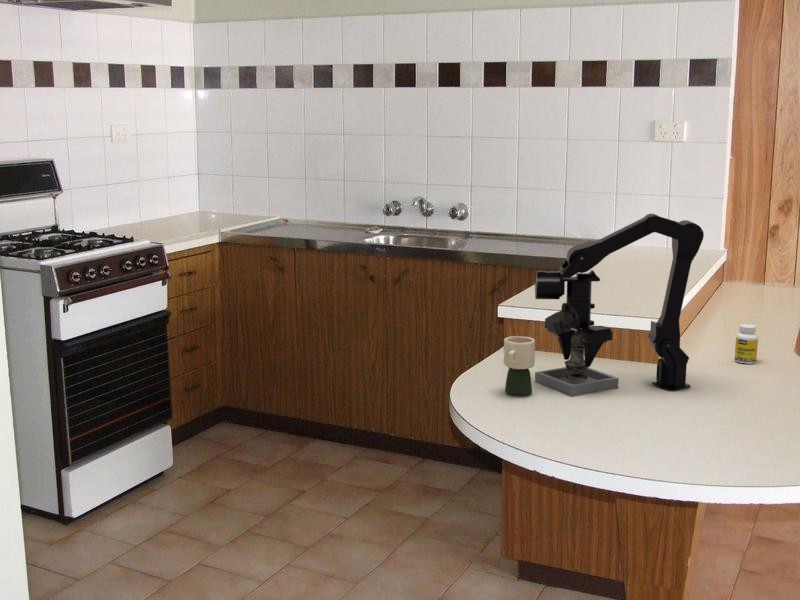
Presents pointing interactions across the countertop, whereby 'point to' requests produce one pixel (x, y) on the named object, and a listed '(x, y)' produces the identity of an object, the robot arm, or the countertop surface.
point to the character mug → (519, 363)
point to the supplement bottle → (746, 344)
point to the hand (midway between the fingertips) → (577, 363)
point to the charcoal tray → (576, 381)
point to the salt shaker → (576, 359)
